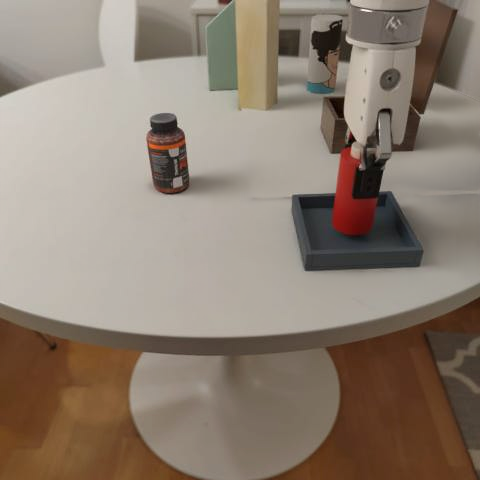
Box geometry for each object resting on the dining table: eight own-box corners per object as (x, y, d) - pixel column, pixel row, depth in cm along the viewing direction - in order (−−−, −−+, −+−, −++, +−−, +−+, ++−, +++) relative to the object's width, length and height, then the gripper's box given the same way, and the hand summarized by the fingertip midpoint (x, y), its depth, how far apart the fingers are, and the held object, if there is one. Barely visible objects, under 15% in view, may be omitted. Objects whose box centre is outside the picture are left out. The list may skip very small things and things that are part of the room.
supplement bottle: (190, 193, 73) (182, 123, 66) (152, 195, 73) (141, 126, 65) (190, 176, 77) (183, 109, 70) (155, 178, 77) (144, 110, 70)
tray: (387, 206, 69) (391, 190, 67) (419, 266, 58) (424, 250, 56) (291, 209, 69) (292, 194, 67) (304, 270, 58) (306, 254, 56)
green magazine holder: (270, 76, 117) (272, -15, 104) (275, 86, 111) (278, -9, 98) (207, 80, 116) (201, -12, 103) (209, 90, 110) (202, -6, 97)
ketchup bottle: (366, 212, 64) (381, 135, 57) (376, 234, 60) (393, 154, 53) (328, 214, 64) (337, 137, 57) (335, 236, 60) (346, 156, 53)
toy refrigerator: (247, 98, 105) (246, -9, 92) (277, 101, 103) (281, -7, 90) (234, 110, 100) (231, -2, 86) (266, 114, 98) (268, 0, 84)
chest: (330, 157, 81) (334, 120, 77) (320, 131, 90) (323, 96, 86) (411, 155, 82) (420, 117, 77) (393, 129, 90) (400, 94, 86)
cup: (328, 95, 106) (335, 22, 96) (302, 91, 108) (306, 19, 99) (339, 86, 110) (347, 16, 100) (313, 82, 113) (319, 13, 103)
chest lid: (453, 9, 67) (458, 9, 67) (426, -5, 75) (431, -5, 76) (419, 114, 77) (423, 114, 77) (399, 91, 86) (403, 91, 86)
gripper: (454, 45, 40) (408, 221, 52) (397, 7, 53) (371, 154, 65) (368, 48, 40) (342, 223, 52) (332, 9, 53) (318, 156, 65)
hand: (358, 183), depth 58 cm, fingers closed on ketchup bottle, 5 cm apart
